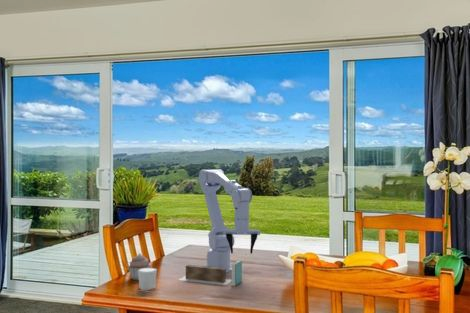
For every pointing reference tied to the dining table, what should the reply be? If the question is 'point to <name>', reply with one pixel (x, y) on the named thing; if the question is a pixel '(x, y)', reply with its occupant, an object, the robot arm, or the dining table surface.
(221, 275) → the bar
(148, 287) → the shot glass
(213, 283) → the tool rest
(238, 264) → the tile
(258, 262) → the dining table surface
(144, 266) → the cupcake
